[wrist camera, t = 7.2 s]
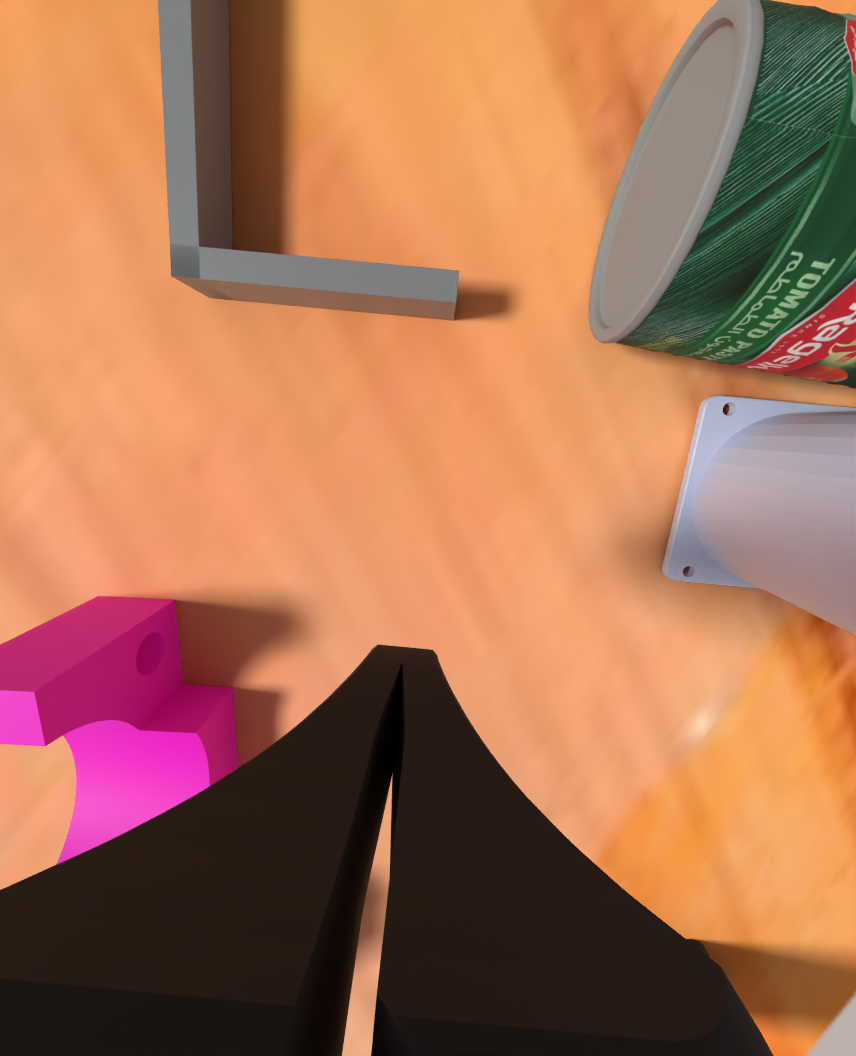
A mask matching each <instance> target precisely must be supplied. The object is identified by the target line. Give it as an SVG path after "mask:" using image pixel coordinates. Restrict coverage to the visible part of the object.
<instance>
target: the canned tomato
mask: <svg viewBox="0 0 856 1056" xmlns="http://www.w3.org/2000/svg"><path fill="white" fill-rule="evenodd" d="M589 323H590V329H591V331H592V334H593V336H594V338H595V339H597V340H598V341H599V342H602V343H618V344H623V345H628V346H633V347H638V348H643V349H647V350H650V351H660V352H666V353H671V354H673V355H682V356H688V357H692V358H695V359H701V360H710V361H714V362H717V363H720V364H732V365H736V366H739V367H742V368H753V369H758V370H761V371H764V372H775V373H780V374H783V375H785V376H797V377H801V378H805V379H807V380H818V381H823V382H826V383H829V384H839V385H845V386H848V387H851V388H856V16H855V15H852V14H837V13H831V12H828V11H826V10H823V9H820V8H818V7H815V6H802V5H794V4H789V3H783V2H777V1H772V0H719V1H718V2H717V3H716V4H715V5H714V6H713V7H712V8H711V9H710V10H709V11H707V12H706V14H705V15H704V16H703V18H702V19H701V20H700V22H699V23H698V24H697V26H696V27H695V28H694V30H693V31H692V32H691V34H690V35H689V37H688V39H687V40H686V42H685V43H684V45H683V47H682V48H681V50H680V52H679V53H678V55H677V56H676V58H675V60H674V62H673V63H672V65H671V67H670V69H669V71H668V73H667V74H666V76H665V78H664V80H663V82H662V84H661V85H660V87H659V90H658V92H657V94H656V96H655V98H654V100H653V102H652V104H651V106H650V108H649V110H648V112H647V114H646V117H645V119H644V121H643V123H642V126H641V128H640V130H639V133H638V135H637V137H636V139H635V142H634V144H633V147H632V149H631V152H630V154H629V157H628V159H627V162H626V164H625V167H624V169H623V172H622V175H621V178H620V180H619V183H618V186H617V189H616V192H615V194H614V197H613V200H612V204H611V207H610V210H609V213H608V216H607V219H606V223H605V226H604V230H603V233H602V237H601V241H600V244H599V248H598V253H597V257H596V261H595V266H594V271H593V276H592V282H591V289H590V298H589Z"/></svg>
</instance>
